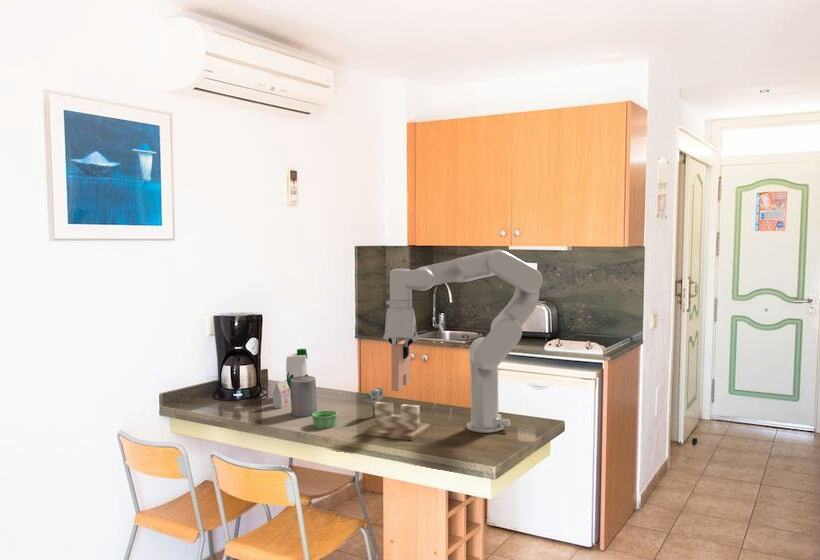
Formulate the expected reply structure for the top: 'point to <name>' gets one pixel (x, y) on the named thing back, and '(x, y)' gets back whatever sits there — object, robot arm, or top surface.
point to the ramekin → (324, 419)
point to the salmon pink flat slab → (399, 367)
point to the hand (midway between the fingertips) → (401, 357)
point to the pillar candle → (303, 396)
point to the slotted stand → (397, 422)
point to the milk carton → (296, 365)
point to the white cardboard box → (281, 395)
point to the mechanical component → (374, 397)
